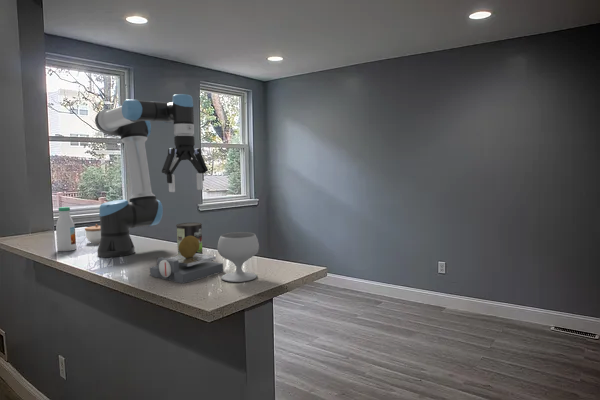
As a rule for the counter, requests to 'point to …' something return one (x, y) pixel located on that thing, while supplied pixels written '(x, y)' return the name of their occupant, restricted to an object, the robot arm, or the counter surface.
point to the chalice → (238, 253)
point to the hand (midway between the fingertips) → (186, 190)
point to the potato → (189, 246)
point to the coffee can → (189, 233)
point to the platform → (193, 259)
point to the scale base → (184, 270)
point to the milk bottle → (65, 231)
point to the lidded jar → (93, 234)
